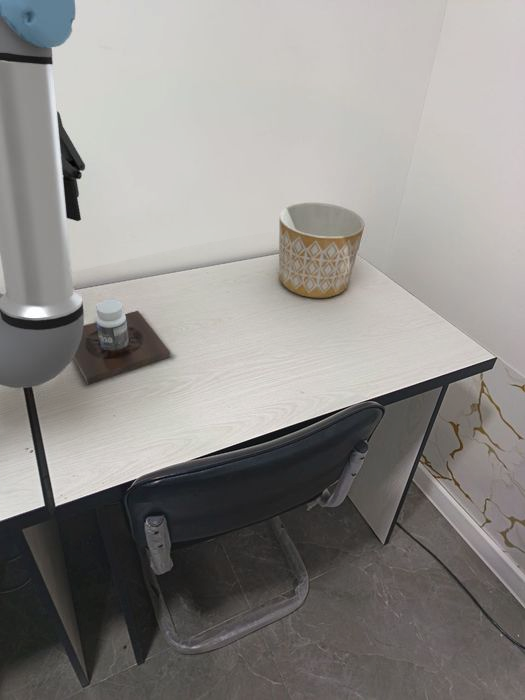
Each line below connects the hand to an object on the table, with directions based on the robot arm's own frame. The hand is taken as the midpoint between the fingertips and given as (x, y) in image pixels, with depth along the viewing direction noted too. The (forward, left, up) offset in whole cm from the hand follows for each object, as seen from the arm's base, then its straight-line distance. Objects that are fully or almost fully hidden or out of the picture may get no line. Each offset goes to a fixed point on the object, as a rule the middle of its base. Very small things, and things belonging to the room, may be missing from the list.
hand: (41, 234), depth 75 cm
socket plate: (+9, +2, -27) cm, 28 cm away
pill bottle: (+9, +2, -27) cm, 28 cm away
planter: (+60, +4, -27) cm, 66 cm away
